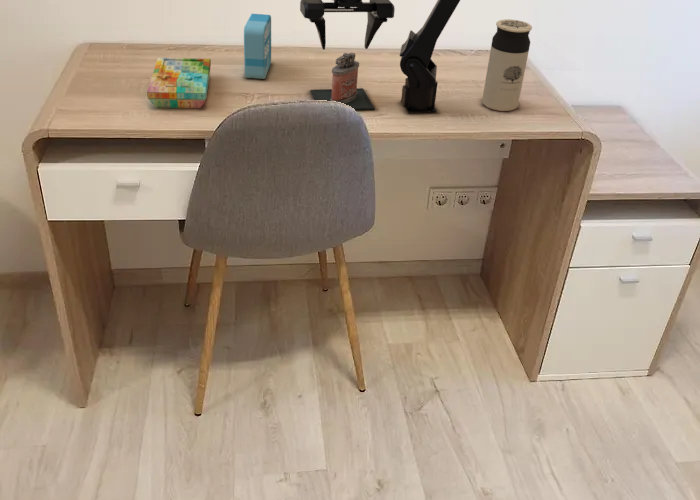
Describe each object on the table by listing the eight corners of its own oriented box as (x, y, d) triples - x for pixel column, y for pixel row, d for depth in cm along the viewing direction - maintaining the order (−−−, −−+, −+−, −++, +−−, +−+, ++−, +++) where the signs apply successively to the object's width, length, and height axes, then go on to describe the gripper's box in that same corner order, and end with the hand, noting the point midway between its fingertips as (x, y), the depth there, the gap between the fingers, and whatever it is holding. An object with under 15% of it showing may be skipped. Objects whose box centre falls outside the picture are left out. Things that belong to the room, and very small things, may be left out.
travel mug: (479, 96, 170) (492, 17, 160) (514, 99, 170) (529, 20, 160) (483, 110, 163) (497, 29, 153) (520, 113, 163) (536, 31, 153)
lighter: (348, 91, 166) (350, 47, 161) (360, 95, 165) (363, 51, 159) (326, 102, 161) (328, 57, 155) (339, 106, 159) (341, 61, 154)
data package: (264, 81, 170) (263, 29, 163) (244, 79, 170) (243, 27, 163) (271, 63, 180) (271, 13, 173) (252, 61, 180) (251, 11, 173)
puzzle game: (146, 87, 151) (157, 53, 167) (148, 109, 153) (159, 74, 170) (205, 89, 152) (210, 55, 169) (206, 110, 155) (211, 75, 171)
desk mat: (362, 90, 169) (362, 88, 168) (374, 110, 160) (374, 107, 160) (310, 92, 166) (310, 89, 166) (319, 112, 157) (319, 109, 157)
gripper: (383, -38, 157) (377, 35, 166) (296, -39, 153) (294, 36, 162) (398, -24, 148) (391, 53, 157) (306, -25, 144) (303, 54, 153)
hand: (344, 48), depth 157 cm, fingers open, 9 cm apart
